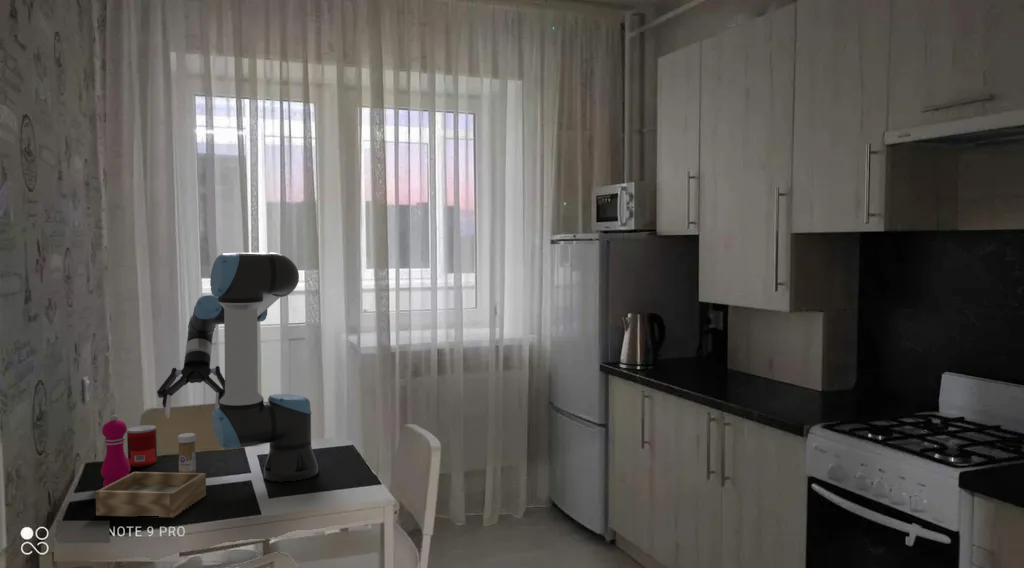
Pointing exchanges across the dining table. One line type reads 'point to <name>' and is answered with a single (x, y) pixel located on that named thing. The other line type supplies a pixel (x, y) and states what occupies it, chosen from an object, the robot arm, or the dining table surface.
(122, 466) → the pepper mill
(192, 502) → the bore box
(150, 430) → the canned food
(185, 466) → the sprinkles bottle
